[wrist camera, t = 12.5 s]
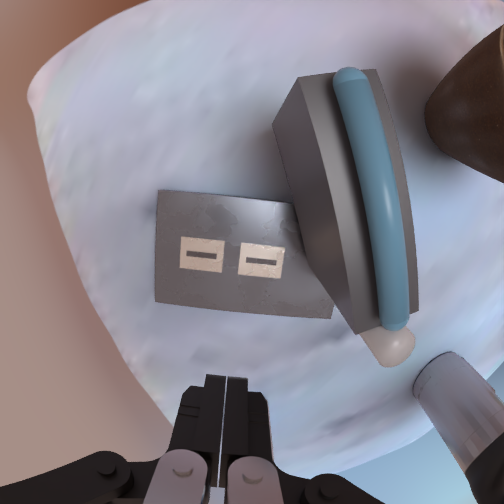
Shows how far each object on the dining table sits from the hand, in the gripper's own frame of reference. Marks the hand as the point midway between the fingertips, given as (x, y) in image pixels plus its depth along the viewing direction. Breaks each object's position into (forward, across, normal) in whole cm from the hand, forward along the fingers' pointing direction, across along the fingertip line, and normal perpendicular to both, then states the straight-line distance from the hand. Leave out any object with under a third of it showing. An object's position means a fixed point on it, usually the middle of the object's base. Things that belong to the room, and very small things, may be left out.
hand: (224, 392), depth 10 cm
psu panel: (+19, -1, 0) cm, 19 cm away
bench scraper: (+17, -6, -6) cm, 19 cm away
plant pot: (+19, -22, -18) cm, 34 cm away
